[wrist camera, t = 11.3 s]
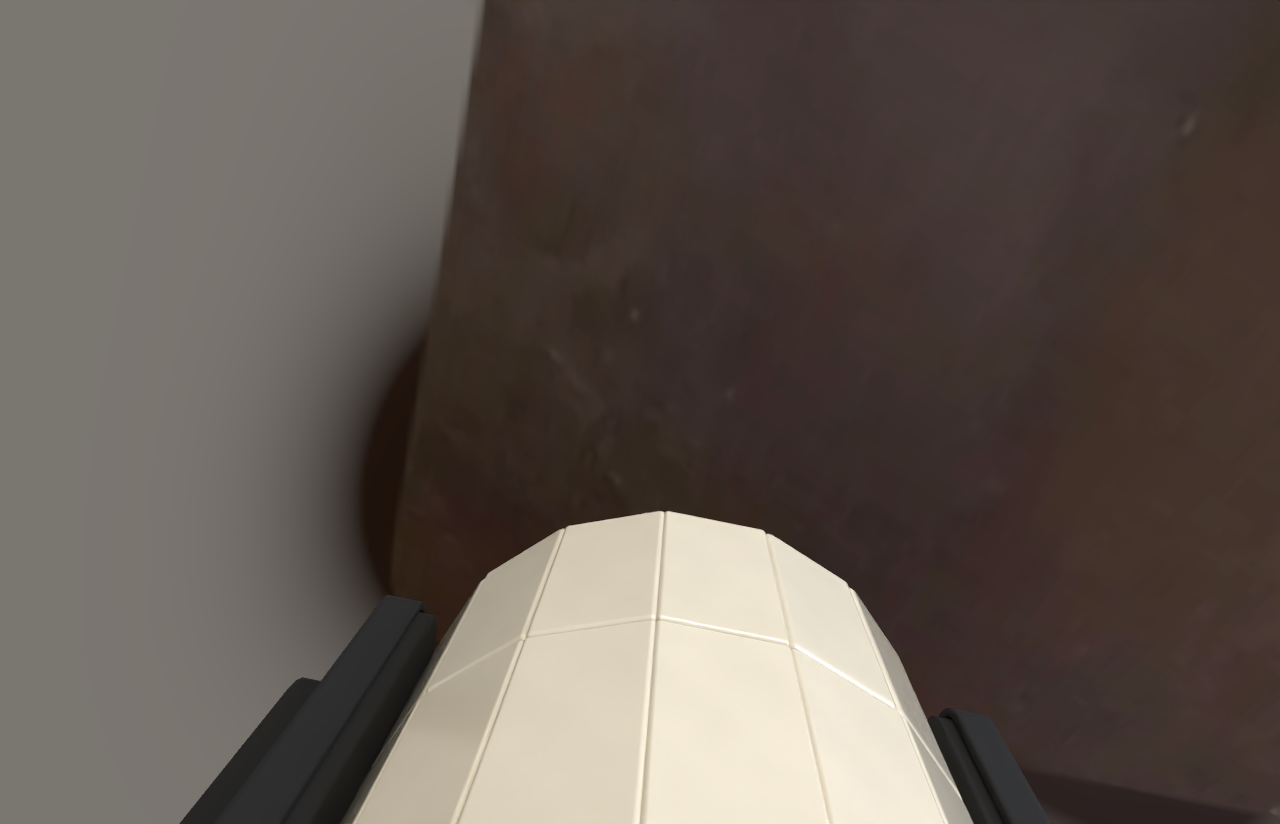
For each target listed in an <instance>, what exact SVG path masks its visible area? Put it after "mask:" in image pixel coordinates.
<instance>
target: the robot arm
mask: <svg viewBox="0 0 1280 824" xmlns="http://www.w3.org/2000/svg"><path fill="white" fill-rule="evenodd" d="M426 612H427V608H426V604H425V603H424V602H420V601H415V600H410V599H405V598H400V597H395V596H390V595H387V596H385V597H384V598H383V599H382V600H381V601H380V603H379V604H378V605H377V607H376V608H375V609H374V611H373V612H372V614H371V615H370V616H369V618H368V619H367V621H366V622H365V623H364V624H363V626H362V627H361V628H360V630H359V631H358V632H357V634H356V635H355V636H354V638H353V639H352V640H351V642H350V643H349V644H348V646H347V647H346V648H345V650H344V651H343V652H342V654H341V655H340V656H339V658H338V659H337V660H336V662H335V663H334V664H333V666H332V667H331V668H330V670H329V671H328V672H327V674H326V675H325V676H324V678H323V679H322V680H321V681H317V680H313V679H307V678H300V679H298V680H296V681H295V682H294V683H293V684H292V685H291V686H290V687H289V688H288V689H287V691H286V692H285V693H284V694H283V696H282V697H281V698H280V699H279V701H278V702H277V703H276V704H275V706H274V707H273V708H272V709H271V710H270V712H269V713H268V714H267V715H266V717H265V718H264V719H263V720H262V722H261V723H260V724H259V725H258V727H257V728H256V729H255V731H254V732H253V733H252V734H251V735H250V737H249V738H248V739H247V740H246V742H245V743H244V744H243V745H242V747H241V748H240V749H239V750H238V752H237V753H236V754H235V755H234V757H233V758H232V759H231V760H230V762H229V763H228V764H227V765H226V767H225V768H224V769H223V770H222V772H221V773H220V774H219V776H218V777H217V778H216V779H215V780H214V781H213V783H212V784H211V785H210V787H209V788H208V789H207V790H206V791H205V793H204V794H203V795H202V796H201V798H200V799H199V800H198V801H197V803H196V804H195V805H194V806H193V808H192V809H191V810H190V811H189V813H188V814H187V815H186V816H185V818H184V819H183V820H182V821H181V823H180V824H340V823H341V821H342V819H343V817H344V815H345V814H346V812H347V810H348V808H349V806H350V804H351V803H352V801H353V799H354V797H355V795H356V794H357V792H358V790H359V788H360V786H361V785H362V783H363V781H364V779H365V777H366V776H367V775H368V773H369V772H370V770H371V769H372V765H373V763H374V761H375V760H376V758H377V756H378V754H379V752H380V751H381V749H382V747H383V745H384V743H385V741H386V740H387V738H388V736H389V734H390V732H391V731H392V729H393V727H394V725H395V723H396V721H397V720H398V718H399V716H400V714H401V712H402V711H403V709H404V707H405V705H406V703H407V701H408V700H409V698H410V696H411V694H412V692H413V691H414V689H415V687H416V685H417V683H418V681H419V680H420V678H421V676H422V674H423V672H424V671H425V669H426V667H427V665H428V663H429V662H430V660H431V658H432V656H433V654H434V648H435V639H436V630H437V616H436V615H432V614H427V613H426ZM927 722H928V724H929V726H930V728H931V731H932V733H933V735H934V737H935V739H936V742H937V744H938V746H939V748H940V751H941V753H942V755H943V757H944V760H945V762H946V764H947V766H948V769H949V771H950V773H951V775H952V778H953V780H954V782H955V784H956V787H957V789H958V791H959V793H960V796H961V798H962V800H963V802H964V804H965V806H966V808H967V810H968V813H969V815H970V817H971V819H972V822H973V824H1051V823H1050V821H1049V819H1048V817H1047V816H1046V814H1045V812H1044V810H1043V809H1042V807H1041V805H1040V804H1039V802H1038V800H1037V798H1036V796H1035V795H1034V793H1033V791H1032V789H1031V787H1030V786H1029V784H1028V782H1027V781H1026V779H1025V777H1024V775H1023V774H1022V772H1021V770H1020V768H1019V766H1018V765H1017V763H1016V761H1015V759H1014V757H1013V756H1012V754H1011V752H1010V750H1009V749H1008V747H1007V745H1006V743H1005V742H1004V740H1003V738H1002V736H1001V735H1000V733H999V731H998V729H997V728H996V726H995V724H994V723H993V721H992V720H991V719H990V718H989V717H987V716H985V715H980V714H975V713H970V712H965V711H960V710H955V709H951V708H947V709H944V710H943V711H942V712H941V713H940V715H939V717H937V716H931V717H930V718H929V719H928V720H927Z"/></svg>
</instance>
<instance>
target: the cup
mask: <svg viewBox="0 0 1280 824" xmlns="http://www.w3.org/2000/svg"><path fill="white" fill-rule="evenodd" d="M340 824H973V822H972V819H971V817H970V815H969V813H968V810H967V808H966V806H965V804H964V802H963V800H962V798H961V796H960V793H959V791H958V789H957V787H956V784H955V782H954V780H953V778H952V775H951V773H950V771H949V769H948V766H947V764H946V762H945V760H944V757H943V755H942V753H941V751H940V748H939V746H938V744H937V742H936V739H935V737H934V735H933V733H932V731H931V728H930V726H929V724H928V722H927V719H926V717H925V715H924V713H923V710H922V708H921V706H920V704H919V701H918V699H917V697H916V695H915V692H914V690H913V688H912V686H911V683H910V681H909V679H908V677H907V674H906V672H905V670H904V668H903V665H902V663H901V661H900V659H899V657H898V655H897V653H896V652H895V650H894V649H893V647H892V646H891V644H890V643H889V641H888V640H887V638H886V637H885V635H884V634H883V632H882V631H881V630H880V628H879V627H878V625H877V624H876V622H875V621H874V619H873V618H872V616H871V615H870V613H869V612H868V610H867V609H866V607H865V606H864V604H863V603H862V601H861V600H860V598H859V597H858V595H857V594H856V592H855V591H854V590H852V589H851V588H849V586H848V584H847V583H846V582H845V581H843V580H842V579H840V578H839V577H837V576H836V575H834V574H832V573H831V572H829V571H828V570H826V569H825V568H823V567H821V566H820V565H818V564H817V563H815V562H814V561H812V560H810V559H809V558H807V557H806V556H804V555H803V554H801V553H799V552H798V551H796V550H795V549H793V548H792V547H790V546H788V545H787V544H785V543H784V542H782V541H781V540H779V539H777V538H776V537H774V536H773V535H771V534H765V531H763V530H760V529H755V528H750V527H745V526H740V525H735V524H730V523H725V522H720V521H715V520H710V519H705V518H700V517H695V516H690V515H685V514H680V513H675V512H670V511H666V512H665V513H664V512H663V511H658V512H651V513H645V514H639V515H633V516H627V517H621V518H615V519H609V520H602V521H596V522H590V523H584V524H578V525H572V526H568V527H566V528H565V529H561V530H558V531H557V532H555V533H554V534H552V535H550V536H549V537H547V538H545V539H544V540H542V541H540V542H539V543H537V544H535V545H534V546H532V547H531V548H529V549H527V550H526V551H524V552H522V553H521V554H519V555H517V556H516V557H514V558H512V559H511V560H509V561H508V562H506V563H504V564H503V565H501V566H499V567H498V568H496V569H494V570H493V571H491V572H490V573H488V574H487V576H486V578H485V579H484V580H482V581H481V582H480V583H479V585H478V586H477V588H476V589H475V591H474V592H473V594H472V595H471V597H470V598H469V600H468V601H467V602H466V604H465V605H464V607H463V608H462V610H461V611H460V613H459V614H458V616H457V617H456V619H455V620H454V622H453V623H452V625H451V626H450V628H449V629H448V631H447V632H446V634H445V635H444V637H443V638H442V640H441V642H440V643H439V645H438V647H437V649H436V651H435V652H434V654H433V656H432V658H431V660H430V662H429V663H428V665H427V667H426V669H425V671H424V672H423V674H422V676H421V678H420V680H419V681H418V683H417V685H416V687H415V689H414V691H413V692H412V694H411V696H410V698H409V700H408V701H407V703H406V705H405V707H404V709H403V711H402V712H401V714H400V716H399V718H398V720H397V721H396V723H395V725H394V727H393V729H392V731H391V732H390V734H389V736H388V738H387V740H386V741H385V743H384V745H383V747H382V749H381V751H380V752H379V754H378V756H377V758H376V760H375V761H374V763H373V765H372V769H371V770H370V772H369V773H368V775H367V776H366V777H365V779H364V781H363V783H362V785H361V786H360V788H359V790H358V792H357V794H356V795H355V797H354V799H353V801H352V803H351V804H350V806H349V808H348V810H347V812H346V814H345V815H344V817H343V819H342V821H341V823H340Z"/></svg>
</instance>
